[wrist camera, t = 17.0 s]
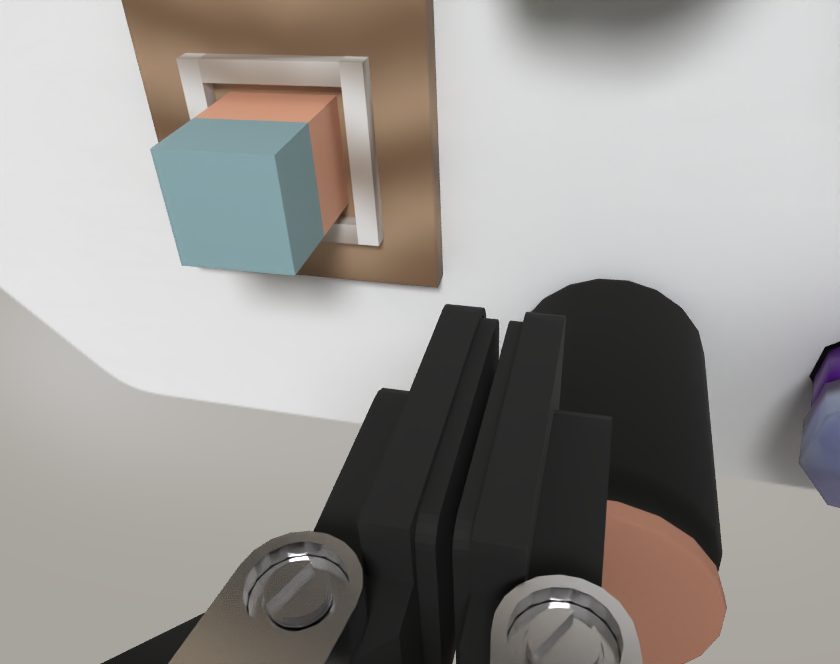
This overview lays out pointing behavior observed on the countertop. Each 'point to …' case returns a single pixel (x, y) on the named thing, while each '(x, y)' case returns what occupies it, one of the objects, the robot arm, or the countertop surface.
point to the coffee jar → (649, 459)
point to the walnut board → (320, 75)
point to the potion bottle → (824, 428)
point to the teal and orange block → (254, 181)
